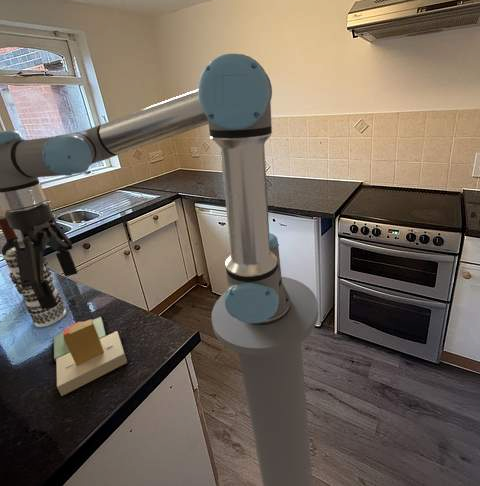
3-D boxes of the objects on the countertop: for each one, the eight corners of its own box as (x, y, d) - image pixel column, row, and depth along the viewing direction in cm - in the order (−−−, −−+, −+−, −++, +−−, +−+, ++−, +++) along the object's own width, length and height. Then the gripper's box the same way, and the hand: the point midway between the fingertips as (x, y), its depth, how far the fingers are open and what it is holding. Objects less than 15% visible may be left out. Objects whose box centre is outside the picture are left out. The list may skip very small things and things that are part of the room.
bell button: (85, 324, 85) (83, 319, 85) (86, 332, 82) (84, 327, 82) (69, 331, 83) (66, 326, 83) (69, 339, 80) (67, 334, 80)
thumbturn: (102, 346, 76) (91, 317, 73) (104, 352, 74) (92, 323, 71) (75, 359, 73) (62, 329, 70) (76, 365, 71) (62, 336, 68)
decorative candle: (74, 307, 98) (46, 239, 89) (52, 328, 89) (18, 255, 80) (49, 307, 99) (19, 240, 90) (25, 328, 90) (-11, 256, 81)
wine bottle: (22, 304, 102) (-17, 224, 91) (27, 293, 108) (-10, 217, 97) (49, 296, 105) (14, 218, 94) (51, 285, 112) (19, 211, 101)
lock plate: (120, 339, 82) (117, 330, 81) (127, 362, 74) (124, 353, 73) (60, 367, 75) (56, 357, 74) (61, 396, 67) (56, 386, 66)
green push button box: (102, 319, 91) (99, 311, 90) (106, 338, 83) (103, 330, 82) (55, 339, 85) (51, 331, 84) (55, 362, 77) (51, 353, 76)
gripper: (33, 193, 74) (63, 266, 82) (-34, 232, 51) (16, 329, 59) (66, 188, 76) (93, 260, 83) (16, 224, 53) (59, 319, 61)
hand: (61, 289), depth 71 cm, fingers open, 13 cm apart
